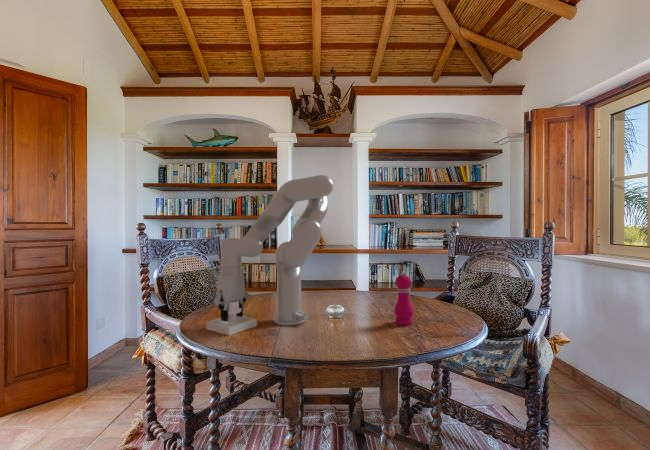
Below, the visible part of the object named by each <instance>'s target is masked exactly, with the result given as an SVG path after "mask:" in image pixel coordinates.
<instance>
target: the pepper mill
mask: <svg viewBox="0 0 650 450" xmlns="http://www.w3.org/2000/svg"><path fill="white" fill-rule="evenodd" d="M395 285H396V287H397V288H396V291H397V293H398V294H397V295H398V297H397V298H398V299H397V302H396V304H395V306H394V309H393V310H394V311H393V313H394V315H395V316H396V317H395V324H397V325H399V326H410V325H412V324H413V318H412V317H413V315H414V308H413V305H412V303H411V301H410V293H411V288H410V287H411V286H412V285H413V283H412V279H411V277H410V276H408V275H407V273H406V271H404V270H403V271H401V272H400V275H398V276H397V277H396V279H395Z"/></svg>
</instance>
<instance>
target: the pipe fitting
mask: <svg viewBox="0 0 650 450" xmlns="http://www.w3.org/2000/svg"><path fill="white" fill-rule="evenodd" d="M226 310H228V323H235V322H236V321H237V318H236V317H237V315H236V313H240V312H241V311H242V308H239V300H237V301H233V302H229V303H228V306H227V309H226Z"/></svg>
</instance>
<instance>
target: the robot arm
mask: <svg viewBox="0 0 650 450" xmlns="http://www.w3.org/2000/svg"><path fill="white" fill-rule="evenodd" d="M333 189H334V183H333V181H332V179H331V178H330V177H329V176H327V175H326V174H319V175H313V176H307V177H302V178H297V179H296V178H295V179H291V180H288V181H286V182H284V183H283V184H282V185H280V188H279V189H278V190H277V191H276V193H275V194H274V195H273V197H272V199H271V200H270V201H269V203H268V204H267V205H266V206H265V208H264V210H263V211H262V212H261V214H259V216H258V217H257V219H256V220H255V222H254V223H253V224H252V226H251V227H250V229H249V230H248V231H247V233H245V235H244V236H243V238H239V237H225V238H222V239H221V240H220V275H219V276H218V280H217V285H216V286H217V288H216V297H215V299H214V300H213V301H212V302H213V304H214V305H215V306H216V307H217V308H218V309H219V311H220V318H221V320H222V321H228V310H226V309H227V306H228V303H229V302H233V301H237V300H239V308H242V311H241V312H240V313H236V315H237V316H239V317H243V316H244V315H243V314H244V306H245V303H246V302H247V299H248V298H249V293H248V292H247V291H246V288H245V287H246V285H245V284H246V283H245V278H244V277H245V276H244V274H243V272H242V270H244V266H243V263H242V261H243V259H242V257H246V258H247V257H249V258H254V257H258V256H260V254H261V253H262V252H263V250H264V244H263V243H264V242H265V240H266V239H267V237H268V236H270V234H271V233H272V232H273V231H274V230H275V229H277V228H278V227H279V226H280V225H281V224H282V223H283V222H284V220H285V219H286V217H287V216H288V214H289V213H290V211H291V210H292V209H293V208H294V206H295V205H296V203H297V202H302V201H307V205H306V207H305V209H304V210H303V213H302V214H301V215H300V216H299V218H298V219H297V221H296V222H295V223H294V225H293V227H292V230H291V233H292V234H291V235H292V237H291V238H290V240H289V241H284V242H282V243H280V244H279V245H278V247H277V248H276V251H275V265H276V292H277V293H276V298H277V299H276V306H277V309H276V311H277V313H276V316H275V317H273V320H272V321H273V323H274V324H276V325H279V326H295V325H300V324H303V323H305V322H306V321H307V320H308V318H309V314H306V313H304V310H305V309H302V269H301V267H302V266H303V265H304V264H305V263H306V262H307V260H308V259H309V257H310V256H311V254H312V252H313V251H314V250H315V248H316V246H317V245H318V244H319V241H320V240H321V237H322V232H323V231H322V230H323V229H322V226H321V224H322V222H323V220H324V219H325V218H326V215H327V213H328V209H329V203H328V200H329V199H328V196H329V195H330V194H331V193H332V191H333Z"/></svg>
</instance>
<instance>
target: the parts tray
mask: <svg viewBox="0 0 650 450" xmlns="http://www.w3.org/2000/svg"><path fill="white" fill-rule="evenodd" d="M236 318H237V321H236V322H235V323H228V321H222V320H221V317H219V318H215V319H212V320H208V321H206V322H205V330H207V331H208V330H209V331H211V332H216V333H220V334H222V335H227V336H232V335H234V334H237V333H240V332H243V331H246V330H248V329H253V328H255V327H257V326H258V321H257V320H258V318H257V319H256V318H254V317H253V318H252V317H248V316H244V315H243V317H239V316H237V317H236Z"/></svg>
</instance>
